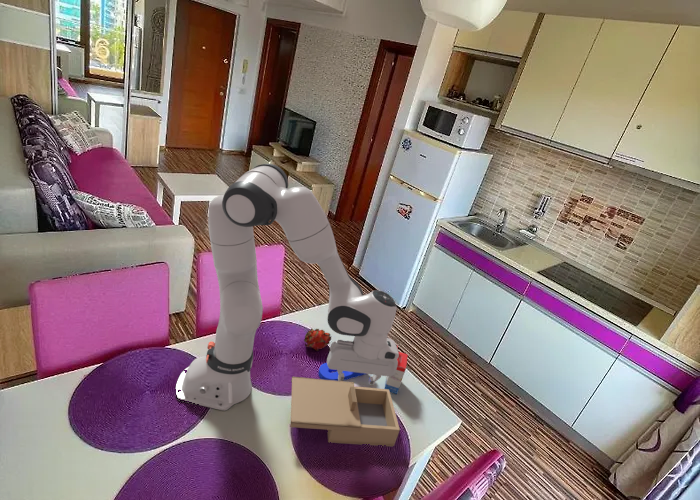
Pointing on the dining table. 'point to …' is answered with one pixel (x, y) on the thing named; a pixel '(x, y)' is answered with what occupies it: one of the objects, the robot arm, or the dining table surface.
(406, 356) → the ink box
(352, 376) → the bracket
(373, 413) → the mailer box
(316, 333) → the dragon fruit
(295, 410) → the lid
